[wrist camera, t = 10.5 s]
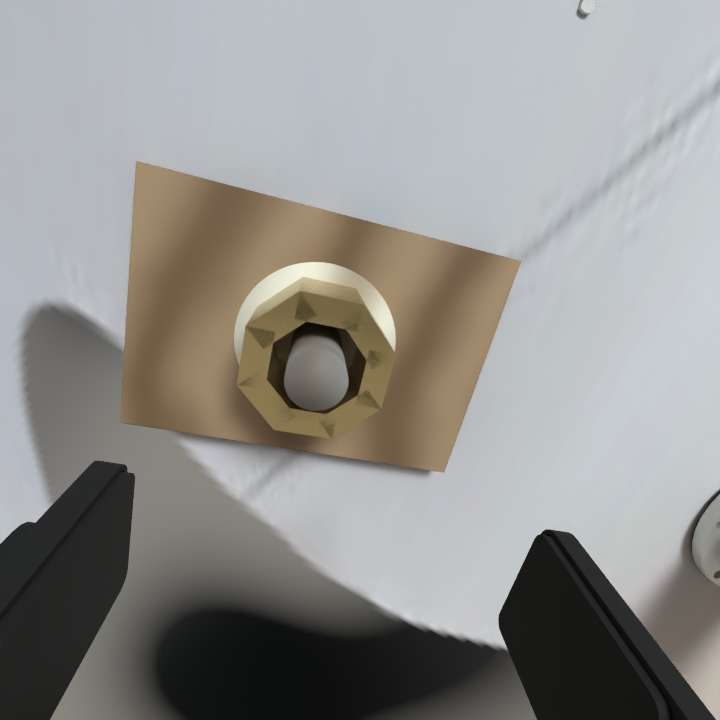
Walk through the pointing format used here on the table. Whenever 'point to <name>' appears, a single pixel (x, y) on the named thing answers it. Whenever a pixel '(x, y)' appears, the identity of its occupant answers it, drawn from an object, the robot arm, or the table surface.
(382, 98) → the table surface
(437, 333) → the post plate
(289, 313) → the ring
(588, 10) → the scissors
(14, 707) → the robot arm
